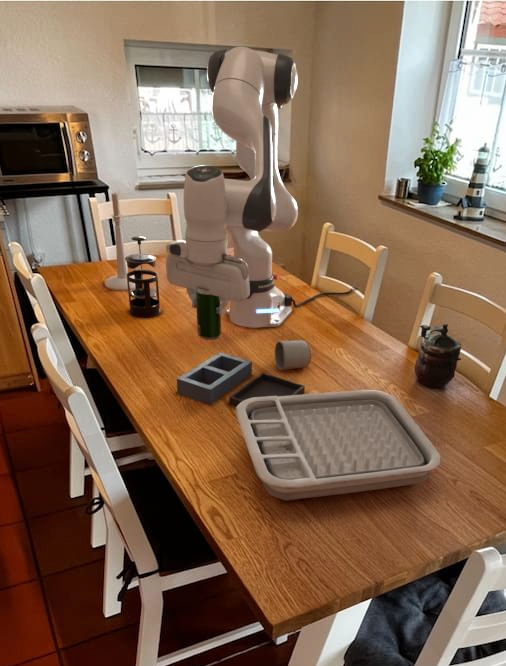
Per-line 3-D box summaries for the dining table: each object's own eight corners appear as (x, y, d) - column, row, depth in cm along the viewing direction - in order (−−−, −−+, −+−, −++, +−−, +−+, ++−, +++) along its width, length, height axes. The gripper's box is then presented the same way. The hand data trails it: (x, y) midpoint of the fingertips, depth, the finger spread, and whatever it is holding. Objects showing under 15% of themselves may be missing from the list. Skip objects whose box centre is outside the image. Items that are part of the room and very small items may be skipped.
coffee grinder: (395, 385, 154) (406, 320, 144) (422, 367, 164) (433, 305, 154) (439, 402, 147) (453, 336, 138) (463, 382, 158) (478, 319, 148)
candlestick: (96, 283, 201) (84, 191, 185) (126, 275, 210) (117, 186, 194) (121, 293, 195) (111, 198, 179) (151, 284, 204) (144, 193, 188)
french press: (165, 316, 181) (160, 241, 169) (134, 320, 177) (127, 243, 164) (154, 303, 189) (148, 230, 177) (124, 306, 185) (117, 232, 173)
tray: (262, 379, 151) (262, 372, 150) (304, 393, 147) (304, 385, 146) (229, 404, 139) (229, 396, 138) (273, 419, 135) (273, 411, 134)
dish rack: (445, 497, 115) (453, 464, 111) (261, 523, 105) (262, 488, 101) (383, 414, 140) (388, 384, 136) (231, 429, 130) (230, 398, 126)
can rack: (220, 365, 156) (220, 351, 154) (251, 375, 153) (252, 361, 150) (177, 393, 142) (176, 378, 140) (210, 404, 139) (210, 389, 137)
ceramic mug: (312, 371, 157) (314, 344, 153) (283, 375, 154) (284, 348, 150) (296, 354, 165) (297, 329, 161) (269, 358, 162) (270, 332, 158)
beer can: (203, 342, 133) (201, 291, 127) (193, 333, 137) (191, 283, 130) (225, 338, 136) (224, 288, 129) (215, 329, 140) (213, 280, 133)
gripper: (256, 255, 124) (255, 317, 132) (178, 237, 132) (181, 296, 139) (239, 263, 119) (239, 326, 127) (159, 244, 127) (164, 304, 134)
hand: (208, 310), depth 133 cm, fingers closed on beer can, 5 cm apart
